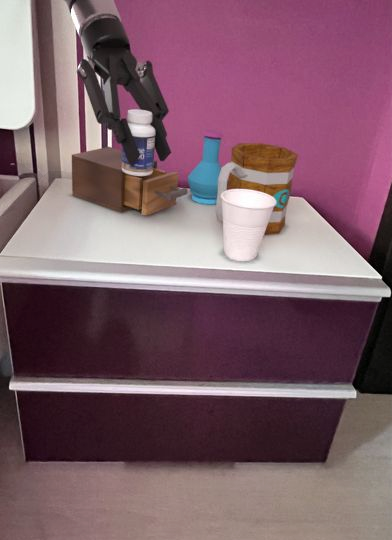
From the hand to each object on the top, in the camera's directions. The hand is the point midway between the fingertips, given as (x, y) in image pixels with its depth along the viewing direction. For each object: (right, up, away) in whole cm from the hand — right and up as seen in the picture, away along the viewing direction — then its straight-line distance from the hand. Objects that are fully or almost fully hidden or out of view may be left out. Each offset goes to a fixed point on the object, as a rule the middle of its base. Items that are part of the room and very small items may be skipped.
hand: (150, 158), depth 92 cm
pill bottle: (-3, -1, +4) cm, 5 cm away
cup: (+16, -14, +13) cm, 25 cm away
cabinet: (-11, +2, +32) cm, 34 cm away
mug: (+18, -6, +26) cm, 32 cm away
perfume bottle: (+10, +3, +38) cm, 39 cm away
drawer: (-3, 0, +28) cm, 28 cm away
